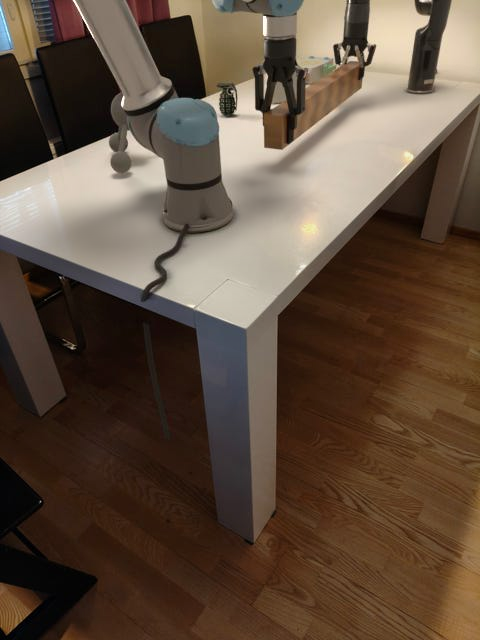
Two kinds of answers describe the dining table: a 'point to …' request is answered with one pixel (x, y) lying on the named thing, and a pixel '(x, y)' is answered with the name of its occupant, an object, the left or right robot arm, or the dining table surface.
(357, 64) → the beam
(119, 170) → the molecular model
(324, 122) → the dining table surface
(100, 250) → the dining table surface
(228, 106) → the grenade
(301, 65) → the decorative block
